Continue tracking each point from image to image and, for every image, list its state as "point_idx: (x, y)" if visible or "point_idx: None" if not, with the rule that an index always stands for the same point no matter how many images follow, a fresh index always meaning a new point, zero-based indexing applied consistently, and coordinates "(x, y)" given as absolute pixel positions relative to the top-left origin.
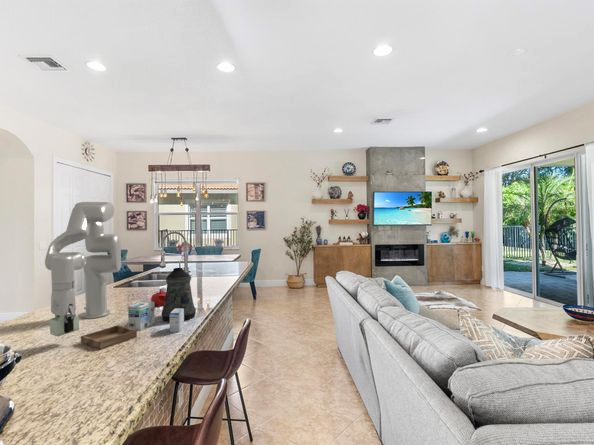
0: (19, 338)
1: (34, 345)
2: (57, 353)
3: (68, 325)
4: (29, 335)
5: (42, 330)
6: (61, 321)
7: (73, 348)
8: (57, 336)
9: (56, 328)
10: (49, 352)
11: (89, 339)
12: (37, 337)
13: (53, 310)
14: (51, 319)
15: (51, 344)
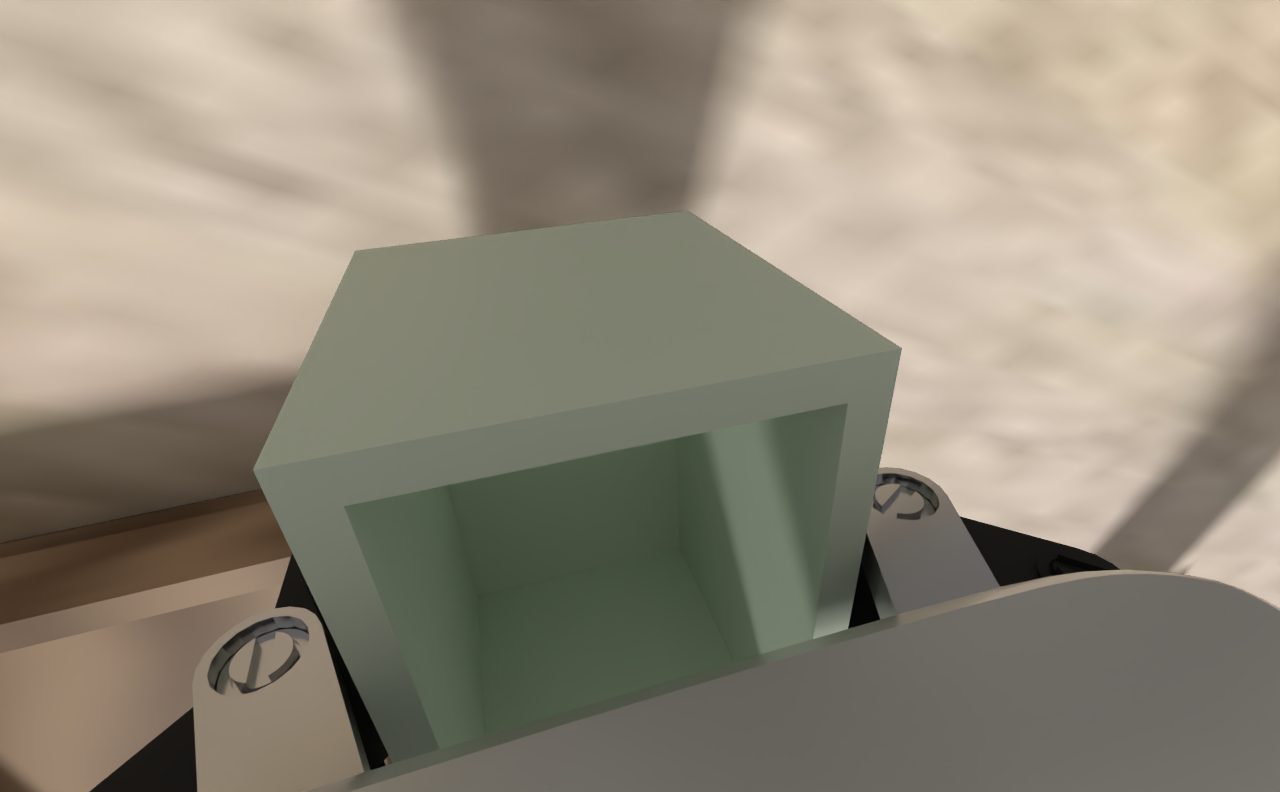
0: (1270, 28)
1: (867, 25)
2: (83, 90)
3: (291, 588)
4: (1224, 154)
5: (1198, 301)
6: (323, 573)
7: (199, 352)
8: (357, 251)
9: (374, 318)
10: (281, 19)
11: (67, 602)
12: (1087, 187)
13: (1134, 776)
14: (777, 379)
15: (686, 203)
